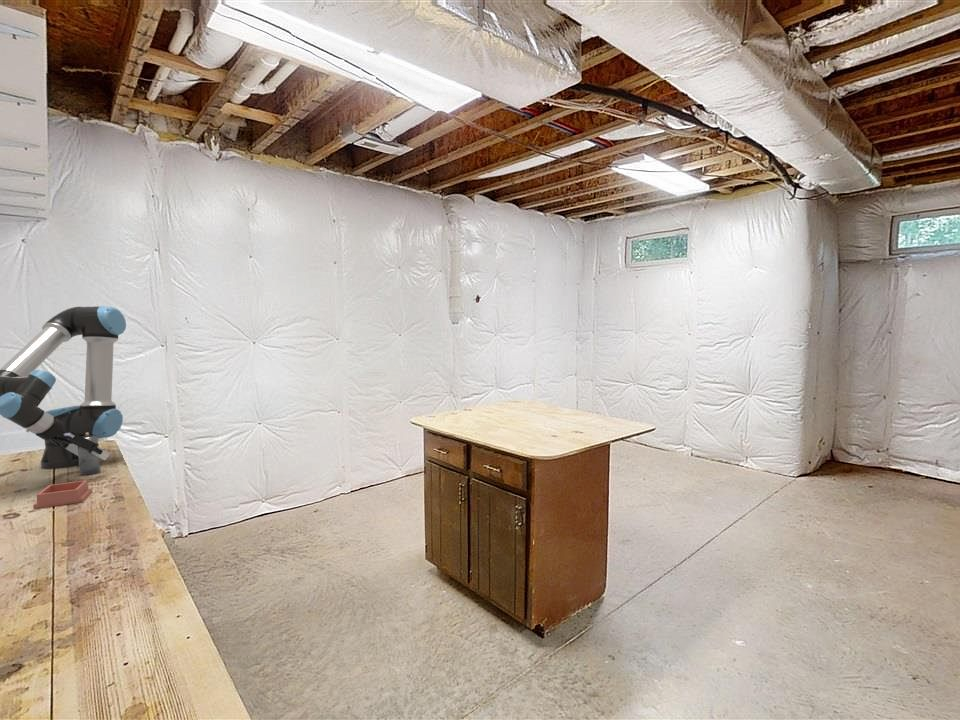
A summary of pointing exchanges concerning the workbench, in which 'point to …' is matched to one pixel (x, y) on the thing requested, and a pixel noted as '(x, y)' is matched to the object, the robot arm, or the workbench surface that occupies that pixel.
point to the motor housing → (88, 458)
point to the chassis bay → (63, 494)
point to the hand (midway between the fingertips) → (94, 455)
